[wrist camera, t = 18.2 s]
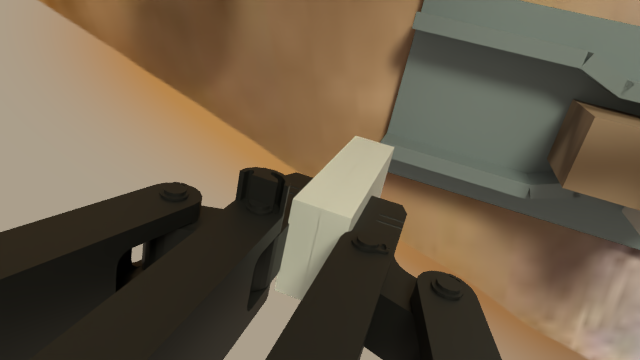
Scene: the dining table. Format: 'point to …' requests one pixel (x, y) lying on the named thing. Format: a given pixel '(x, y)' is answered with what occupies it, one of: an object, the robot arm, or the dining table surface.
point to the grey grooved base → (511, 105)
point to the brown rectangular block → (599, 153)
